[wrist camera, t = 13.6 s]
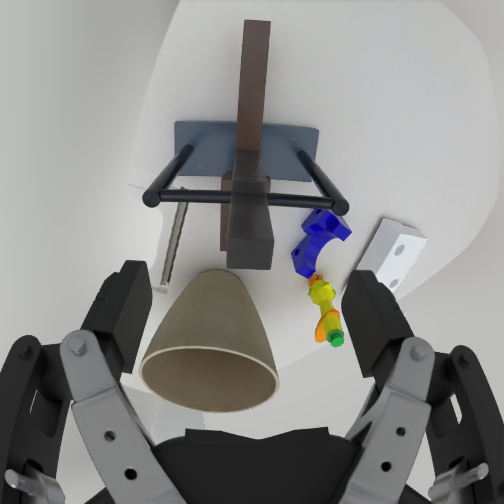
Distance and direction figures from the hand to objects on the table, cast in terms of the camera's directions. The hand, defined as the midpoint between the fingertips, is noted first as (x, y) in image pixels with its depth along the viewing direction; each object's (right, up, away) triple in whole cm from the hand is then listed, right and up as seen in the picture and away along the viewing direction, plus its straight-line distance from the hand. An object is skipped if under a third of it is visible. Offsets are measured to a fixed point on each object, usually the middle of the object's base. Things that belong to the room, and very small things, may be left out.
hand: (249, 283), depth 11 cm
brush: (0, +11, +12) cm, 17 cm away
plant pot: (-5, -4, +29) cm, 30 cm away
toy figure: (+9, -3, +29) cm, 31 cm away
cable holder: (+8, +4, +25) cm, 26 cm away
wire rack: (-1, +12, +18) cm, 22 cm away
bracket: (+19, 0, +28) cm, 34 cm away
